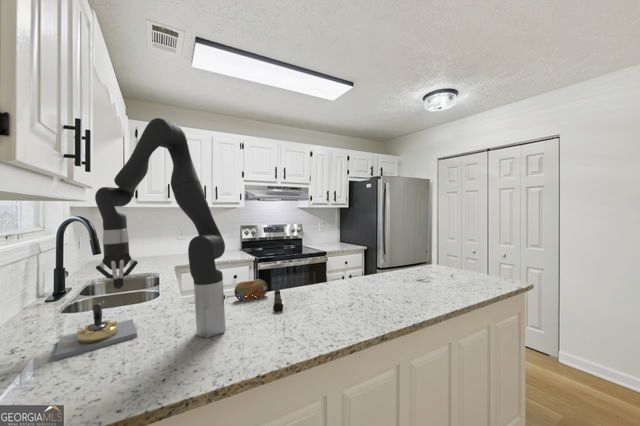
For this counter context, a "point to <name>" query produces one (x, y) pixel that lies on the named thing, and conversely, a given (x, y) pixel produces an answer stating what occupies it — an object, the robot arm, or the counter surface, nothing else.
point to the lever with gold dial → (97, 328)
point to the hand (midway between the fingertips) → (118, 288)
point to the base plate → (72, 347)
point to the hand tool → (277, 301)
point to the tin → (251, 289)
